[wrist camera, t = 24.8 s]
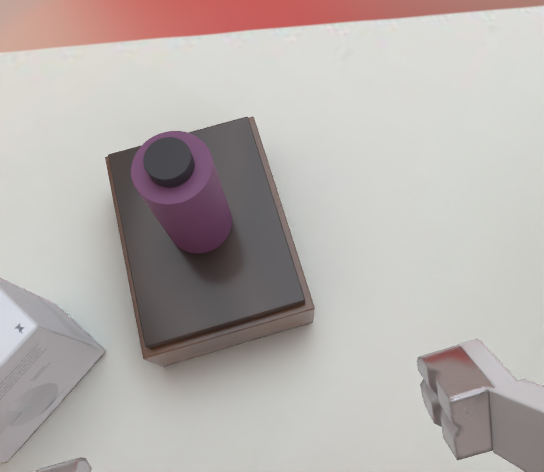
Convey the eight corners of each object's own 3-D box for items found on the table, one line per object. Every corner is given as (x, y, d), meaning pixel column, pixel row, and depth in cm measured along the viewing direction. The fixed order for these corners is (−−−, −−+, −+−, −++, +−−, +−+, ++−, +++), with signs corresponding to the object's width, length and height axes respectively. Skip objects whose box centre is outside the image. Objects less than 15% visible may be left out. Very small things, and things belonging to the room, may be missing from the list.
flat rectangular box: (258, 148, 45) (252, 108, 39) (313, 322, 39) (315, 305, 34) (125, 185, 44) (100, 150, 39) (162, 366, 39) (138, 357, 33)
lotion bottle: (223, 186, 37) (198, 111, 28) (239, 243, 36) (218, 183, 27) (162, 203, 37) (117, 133, 28) (175, 261, 35) (132, 207, 26)
